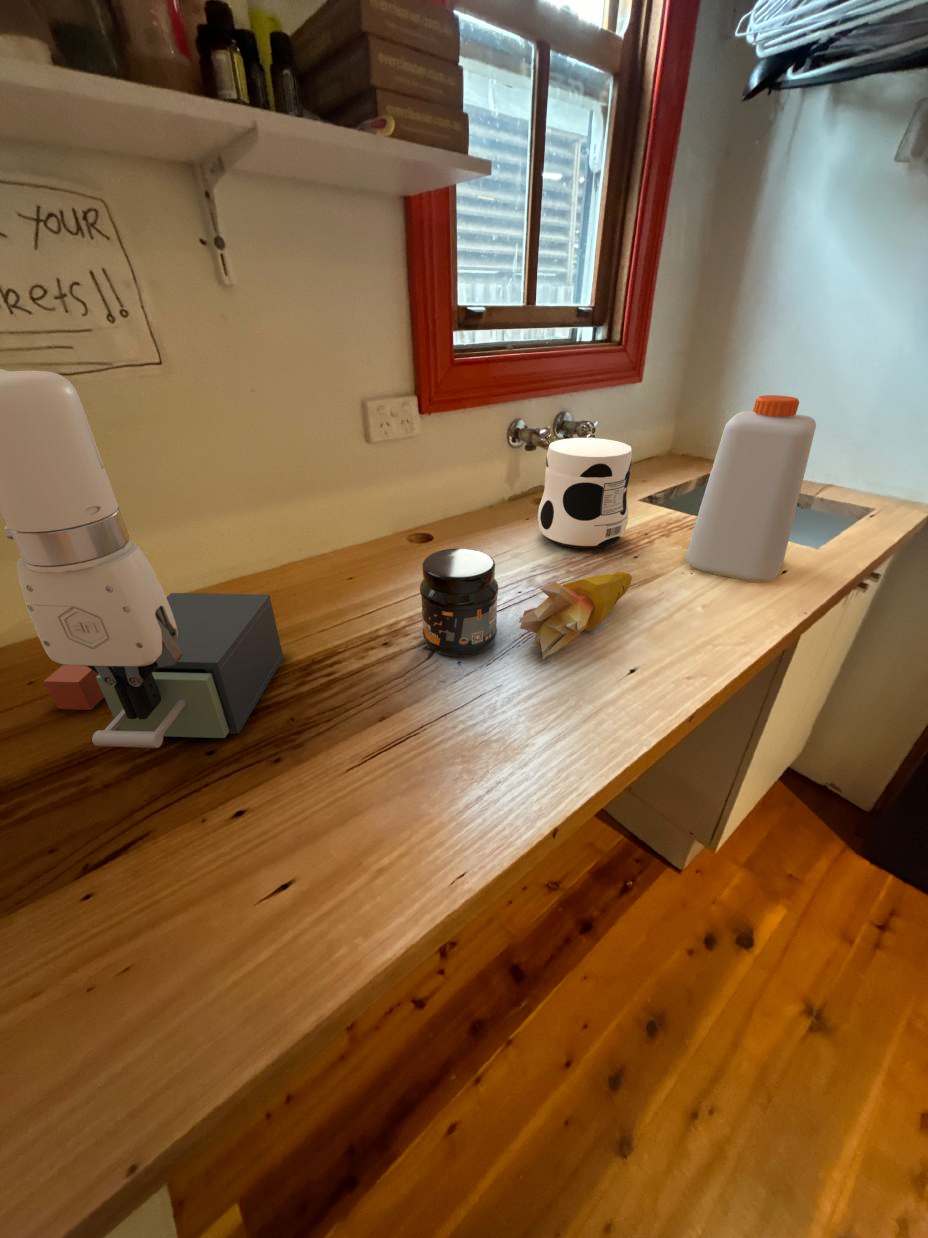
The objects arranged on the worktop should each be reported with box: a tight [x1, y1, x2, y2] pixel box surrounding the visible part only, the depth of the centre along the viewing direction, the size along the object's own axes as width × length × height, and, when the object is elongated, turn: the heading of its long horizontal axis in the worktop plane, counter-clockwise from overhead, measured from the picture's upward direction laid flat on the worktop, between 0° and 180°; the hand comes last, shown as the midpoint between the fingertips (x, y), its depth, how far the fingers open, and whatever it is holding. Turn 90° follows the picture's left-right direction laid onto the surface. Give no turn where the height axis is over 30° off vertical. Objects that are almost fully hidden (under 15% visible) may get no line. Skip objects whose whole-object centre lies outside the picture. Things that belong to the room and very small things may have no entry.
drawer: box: [91, 668, 229, 749], centre depth 59 cm, size 20×12×8 cm, turn 177°
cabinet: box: [158, 592, 284, 735], centre depth 64 cm, size 15×13×10 cm
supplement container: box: [419, 547, 499, 658], centre depth 73 cm, size 10×10×12 cm
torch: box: [518, 570, 633, 660], centre depth 77 cm, size 8×8×25 cm
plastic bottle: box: [685, 394, 817, 583], centre depth 90 cm, size 15×15×28 cm
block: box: [43, 664, 105, 711], centre depth 64 cm, size 4×4×4 cm
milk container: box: [537, 437, 633, 549], centre depth 103 cm, size 17×17×18 cm
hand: (145, 709), depth 53 cm, fingers closed
